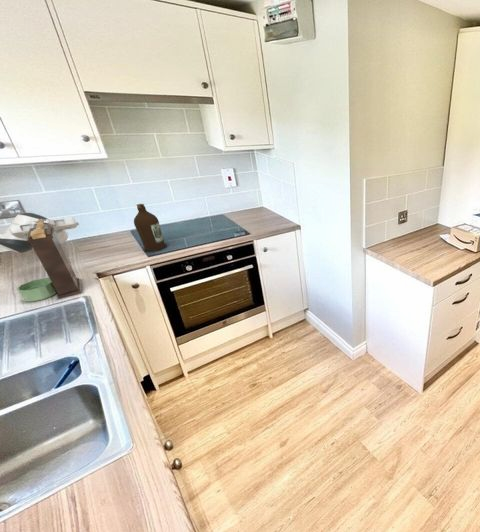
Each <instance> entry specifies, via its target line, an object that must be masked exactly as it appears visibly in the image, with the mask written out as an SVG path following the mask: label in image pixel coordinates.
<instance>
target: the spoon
mask: <svg viewBox="0 0 480 532" xmlns="http://www.w3.org/2000/svg"><path fill="white" fill-rule="evenodd" d="M43 220H44V219H39V220H38V222H37V226H36V230H34V231H31V234H30V235H31V237H32V239H38V238H44V237H46V234H47V233H46V231H45V229H44V221H43Z"/></svg>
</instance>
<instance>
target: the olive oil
mask: <svg viewBox="0 0 480 532" xmlns="http://www.w3.org/2000/svg"><path fill="white" fill-rule="evenodd" d="M136 208H137V211H138V212H137V214H136V215H135V217H134V219H133V225H134V228H135V230H136V231H137V234H138V236H139V238H140V240H141V243H142V245H143V248H144V250H145V251H146V252H156V251H161V250H163V249H164V248H166V247H167V246H166V242H165V237H164V236H163V235H164V234H163V232H162V229H161V224H160V220H159V218H158V217H157V216H156V215H155V214H153V213H151V212H150V211H148V210H147V208H146V206H145V204H144V203H138V204H136Z"/></svg>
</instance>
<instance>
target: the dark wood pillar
mask: <svg viewBox="0 0 480 532" xmlns="http://www.w3.org/2000/svg"><path fill="white" fill-rule="evenodd" d="M31 231H34V230H33V228H30V230H29V233H28V237H27V242H28V243H31V245H32V249H33V251H34V253H35V254H36V256H37V258H38V260H39V262H40V263H41V265H42V267H43V269H44V271H45V272H46V274H47V276H48V278H50V280H51V281H52V283H53V285H54V287H55V289H56V290H57V295H56V296H57V299H58V300H60V299H64V298H68V297H72V296H77V295H79V294H82V284H81V279H80V277H78V276H77V274H76V272H75V271H74V268H73V267H72V265H71V262H70V261H69V259H68V257H67V255H66V253H65V251H64V248H63V247H62V245H61V244H60V243H59V241H58V239H57V237H56V235H55V233H54V228H53V227H51V225H48V228H45V231H46V233H47V234H46V237H44V238H38V239H32V237H31V235H30V234H31Z"/></svg>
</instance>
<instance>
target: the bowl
mask: <svg viewBox="0 0 480 532" xmlns="http://www.w3.org/2000/svg"><path fill="white" fill-rule="evenodd" d="M16 291H17V293H18V294H19V296H20V298H21V299H22V301H24V302H38V301H44V300H47V299H49V298H51V297H53V296H55V295H56V294H58V292H57V290H56V289H55V287H54V285H53V283H52V281H51V280H50V278H49V277H44V278H38V279H33V280H29V281H26V282H23V283H22V284H20V285H19V286H17V287H16Z"/></svg>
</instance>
